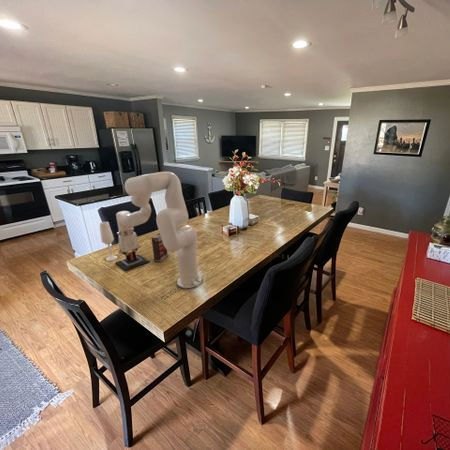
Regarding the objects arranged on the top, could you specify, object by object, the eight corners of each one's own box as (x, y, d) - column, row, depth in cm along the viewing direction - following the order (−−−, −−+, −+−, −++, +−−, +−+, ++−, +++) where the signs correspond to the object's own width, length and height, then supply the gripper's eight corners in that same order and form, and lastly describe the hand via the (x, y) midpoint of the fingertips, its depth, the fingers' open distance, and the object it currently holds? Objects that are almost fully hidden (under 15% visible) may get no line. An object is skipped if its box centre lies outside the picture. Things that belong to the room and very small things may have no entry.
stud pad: (139, 261, 148) (137, 252, 146) (129, 265, 143) (127, 255, 141) (134, 258, 151) (133, 249, 149) (124, 261, 147) (123, 252, 145)
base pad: (148, 262, 148) (148, 259, 148) (125, 271, 138) (124, 268, 138) (138, 255, 157) (137, 252, 156) (115, 263, 147) (115, 260, 146)
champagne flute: (118, 255, 157) (111, 220, 149) (116, 259, 151) (109, 224, 143) (106, 256, 155) (98, 221, 147) (104, 261, 149) (96, 225, 141)
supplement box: (161, 261, 149) (157, 238, 144) (154, 261, 150) (150, 237, 145) (168, 255, 157) (165, 233, 152) (161, 254, 158) (158, 232, 153)
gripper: (114, 237, 133) (120, 266, 139) (142, 229, 144) (147, 256, 150) (109, 234, 137) (115, 262, 144) (137, 226, 149) (141, 253, 155)
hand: (131, 259), depth 147 cm, fingers closed on stud pad, 2 cm apart
